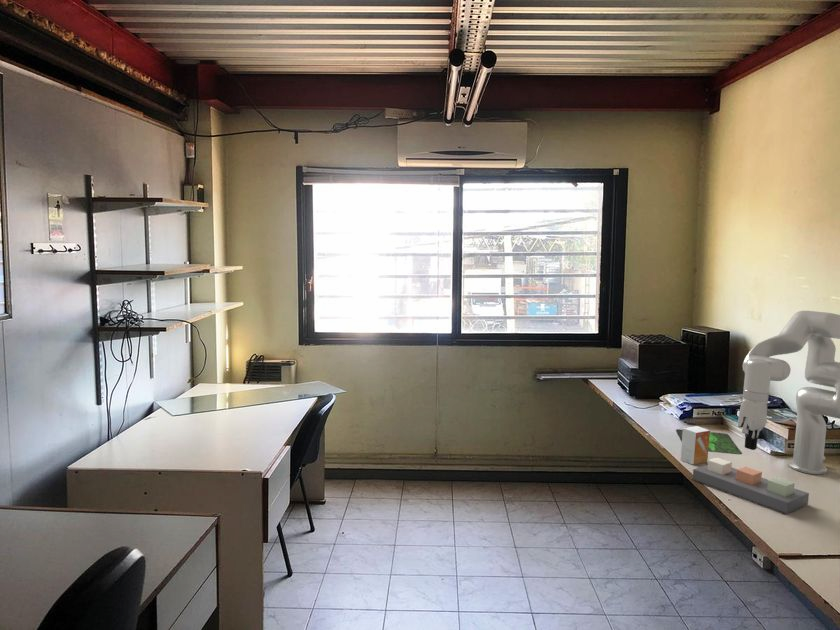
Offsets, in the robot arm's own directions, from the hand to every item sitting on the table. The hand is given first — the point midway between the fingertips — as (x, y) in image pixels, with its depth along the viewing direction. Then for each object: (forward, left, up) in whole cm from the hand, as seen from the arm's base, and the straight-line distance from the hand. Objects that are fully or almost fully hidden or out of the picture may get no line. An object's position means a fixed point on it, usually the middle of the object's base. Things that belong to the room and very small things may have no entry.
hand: (750, 448), depth 201 cm
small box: (-12, -27, -16) cm, 33 cm away
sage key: (-1, +11, -13) cm, 17 cm away
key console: (-1, 0, -16) cm, 16 cm away
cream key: (-1, -10, -13) cm, 17 cm away
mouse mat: (-39, -38, -16) cm, 56 cm away
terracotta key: (-1, 0, -13) cm, 13 cm away
